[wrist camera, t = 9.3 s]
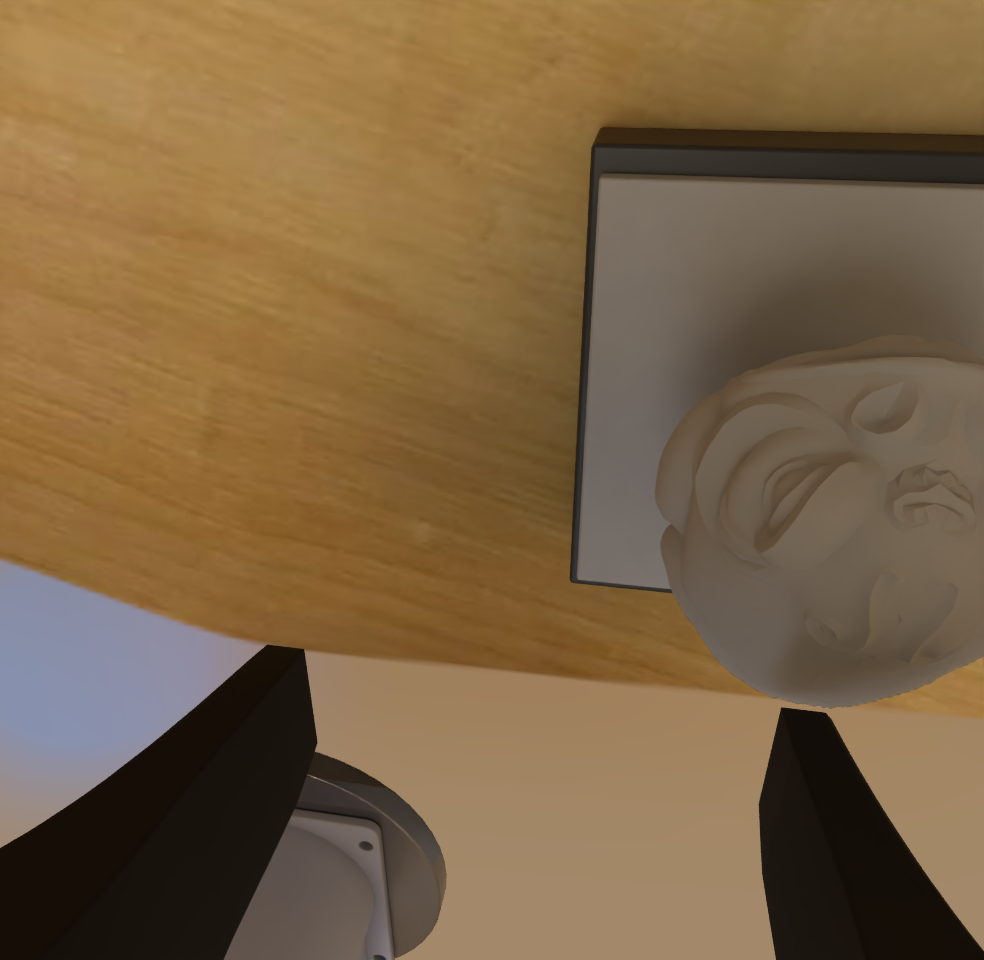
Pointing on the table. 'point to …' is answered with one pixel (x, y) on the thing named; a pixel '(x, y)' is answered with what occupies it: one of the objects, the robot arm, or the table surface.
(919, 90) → the table surface
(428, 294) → the table surface
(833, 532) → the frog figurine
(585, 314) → the scale
